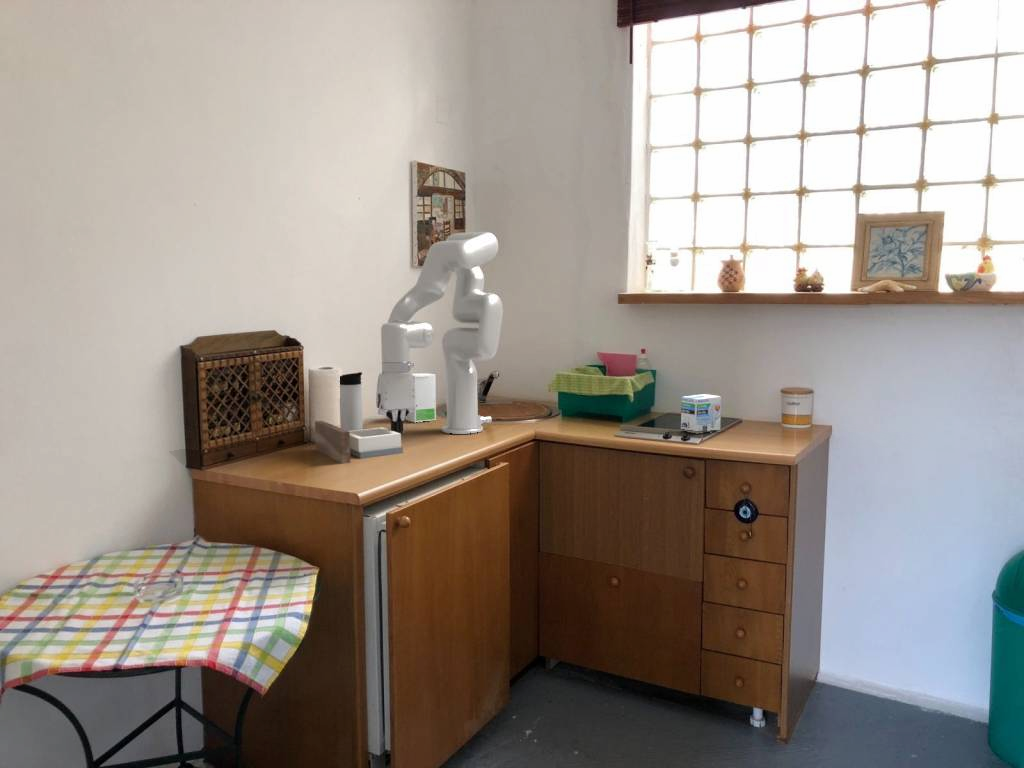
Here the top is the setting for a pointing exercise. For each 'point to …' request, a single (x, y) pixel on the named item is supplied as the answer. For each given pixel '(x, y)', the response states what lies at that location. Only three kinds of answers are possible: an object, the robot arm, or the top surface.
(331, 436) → the wall
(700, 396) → the light bulb box
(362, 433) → the socket block
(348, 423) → the travel mug
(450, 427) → the robot arm
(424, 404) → the skincare box
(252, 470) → the top surface
